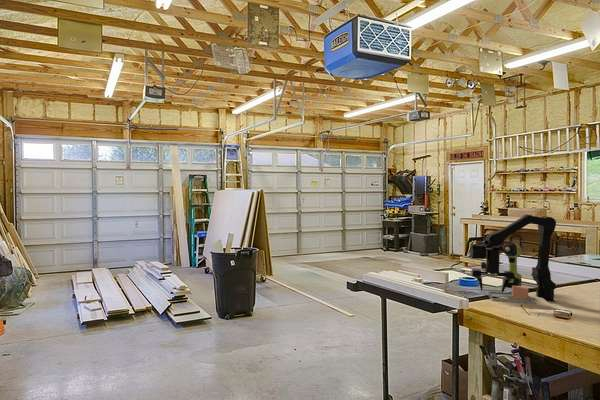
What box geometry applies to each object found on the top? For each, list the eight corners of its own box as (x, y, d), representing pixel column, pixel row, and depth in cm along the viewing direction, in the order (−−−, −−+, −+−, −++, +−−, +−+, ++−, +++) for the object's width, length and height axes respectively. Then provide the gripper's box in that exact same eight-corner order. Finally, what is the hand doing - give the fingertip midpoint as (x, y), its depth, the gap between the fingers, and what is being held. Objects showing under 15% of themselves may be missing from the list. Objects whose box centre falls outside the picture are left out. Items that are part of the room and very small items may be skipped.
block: (525, 295, 209) (525, 286, 208) (528, 298, 204) (528, 288, 204) (511, 294, 210) (512, 285, 210) (514, 297, 205) (514, 288, 205)
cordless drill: (513, 295, 215) (514, 245, 215) (498, 293, 220) (499, 243, 219) (522, 287, 234) (523, 240, 233) (507, 285, 238) (508, 239, 237)
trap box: (526, 298, 210) (526, 293, 210) (535, 307, 195) (535, 302, 194) (486, 295, 215) (486, 291, 215) (491, 303, 199) (492, 299, 199)
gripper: (510, 258, 215) (509, 289, 216) (470, 255, 220) (469, 286, 220) (515, 261, 204) (514, 294, 205) (473, 259, 209) (472, 291, 210)
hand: (491, 291), depth 210 cm, fingers open, 9 cm apart
